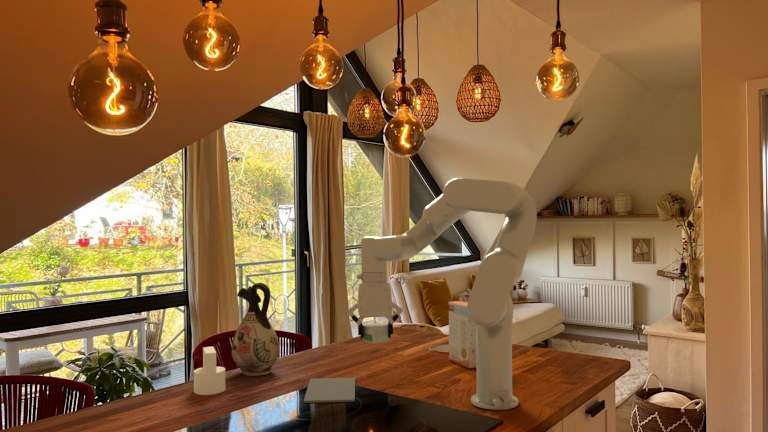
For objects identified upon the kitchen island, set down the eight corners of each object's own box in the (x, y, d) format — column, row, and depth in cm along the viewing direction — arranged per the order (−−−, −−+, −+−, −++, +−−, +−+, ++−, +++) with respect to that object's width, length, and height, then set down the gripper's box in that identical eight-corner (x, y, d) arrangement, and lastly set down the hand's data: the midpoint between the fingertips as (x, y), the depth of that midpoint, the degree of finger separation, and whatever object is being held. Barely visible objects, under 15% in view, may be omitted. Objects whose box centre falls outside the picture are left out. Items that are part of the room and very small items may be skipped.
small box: (362, 341, 174) (362, 324, 174) (378, 338, 178) (377, 322, 178) (373, 344, 170) (372, 327, 170) (389, 341, 173) (388, 324, 173)
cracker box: (484, 367, 197) (483, 305, 197) (468, 369, 194) (467, 306, 195) (463, 358, 210) (462, 300, 210) (448, 360, 207) (447, 301, 208)
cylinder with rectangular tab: (192, 388, 176) (192, 348, 176) (223, 384, 180) (223, 345, 180) (195, 396, 168) (194, 354, 168) (227, 392, 171) (226, 351, 171)
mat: (354, 401, 162) (354, 399, 162) (303, 402, 161) (303, 400, 161) (355, 379, 184) (355, 377, 184) (310, 380, 183) (310, 378, 183)
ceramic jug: (221, 376, 189) (220, 283, 189) (253, 365, 203) (252, 278, 203) (262, 382, 181) (262, 285, 181) (292, 370, 195) (292, 280, 195)
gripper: (344, 279, 170) (345, 340, 170) (404, 278, 170) (405, 339, 170) (345, 277, 177) (346, 335, 177) (402, 275, 178) (403, 334, 178)
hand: (375, 336), depth 174 cm, fingers closed on small box, 7 cm apart
